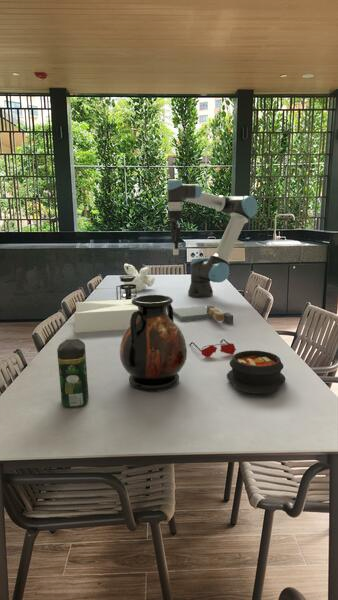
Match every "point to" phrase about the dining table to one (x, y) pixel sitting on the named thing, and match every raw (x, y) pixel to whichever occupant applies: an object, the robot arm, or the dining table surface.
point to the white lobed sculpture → (139, 278)
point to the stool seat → (191, 313)
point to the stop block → (228, 318)
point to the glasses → (212, 349)
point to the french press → (127, 289)
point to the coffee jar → (73, 373)
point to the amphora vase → (153, 345)
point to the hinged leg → (215, 313)
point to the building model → (104, 315)
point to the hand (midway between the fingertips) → (175, 254)
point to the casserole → (256, 372)
